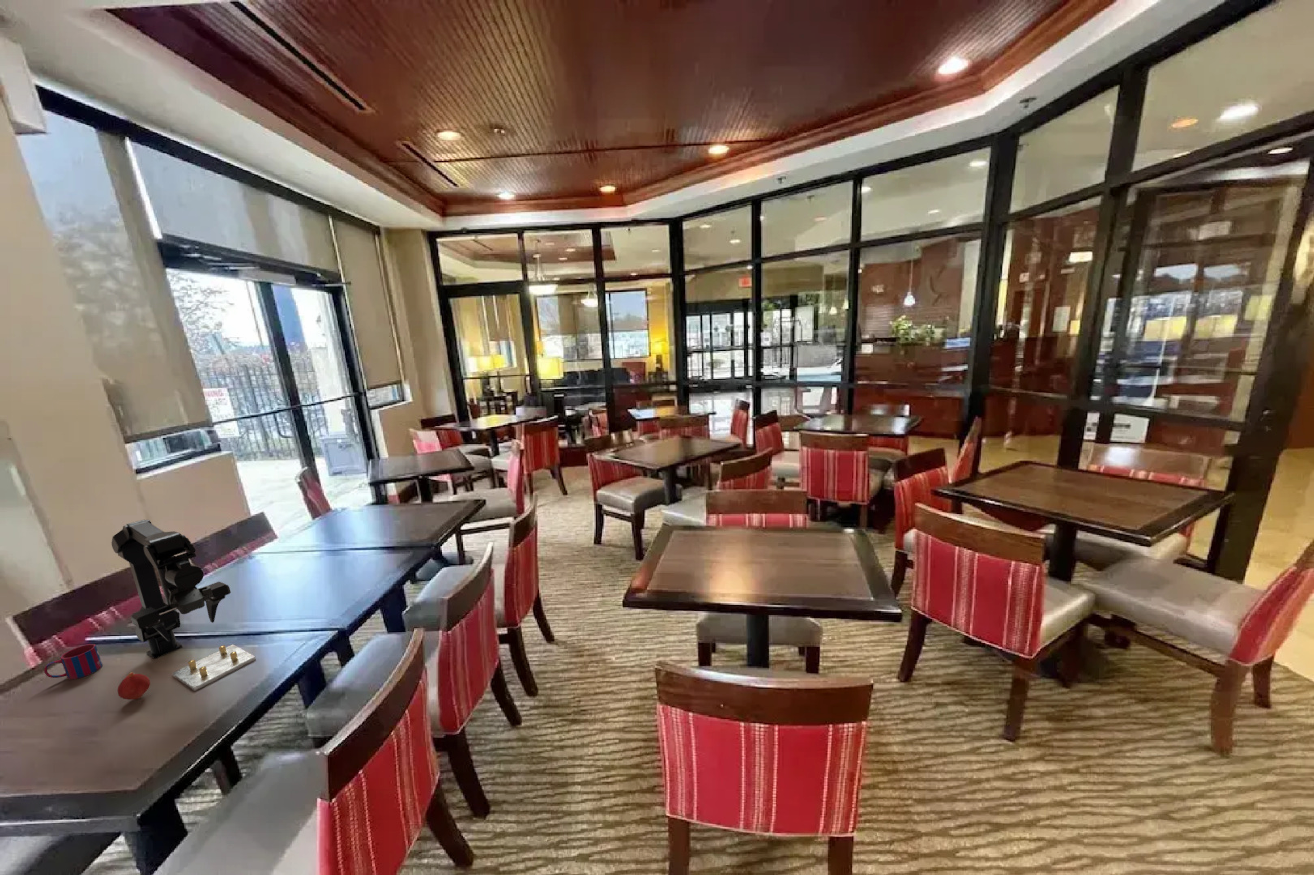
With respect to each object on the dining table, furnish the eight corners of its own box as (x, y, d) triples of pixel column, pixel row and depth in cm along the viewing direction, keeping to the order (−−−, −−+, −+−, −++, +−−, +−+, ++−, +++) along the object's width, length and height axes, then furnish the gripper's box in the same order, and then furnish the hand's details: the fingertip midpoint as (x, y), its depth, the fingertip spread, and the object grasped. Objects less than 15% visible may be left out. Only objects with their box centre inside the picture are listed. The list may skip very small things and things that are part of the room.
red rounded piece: (117, 710, 124) (108, 683, 122) (128, 696, 129) (119, 670, 127) (147, 701, 126) (139, 675, 125) (157, 687, 131) (149, 662, 130)
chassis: (173, 676, 136) (169, 665, 135) (233, 647, 148) (230, 637, 147) (194, 690, 129) (191, 679, 129) (255, 659, 141) (253, 648, 141)
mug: (102, 670, 140) (95, 649, 139) (48, 689, 133) (40, 668, 132) (103, 660, 145) (96, 640, 143) (51, 678, 138) (43, 658, 136)
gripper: (138, 604, 117) (155, 660, 120) (232, 570, 132) (245, 620, 136) (122, 594, 122) (139, 648, 125) (215, 562, 138) (228, 610, 141)
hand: (191, 631), depth 132 cm, fingers open, 9 cm apart
